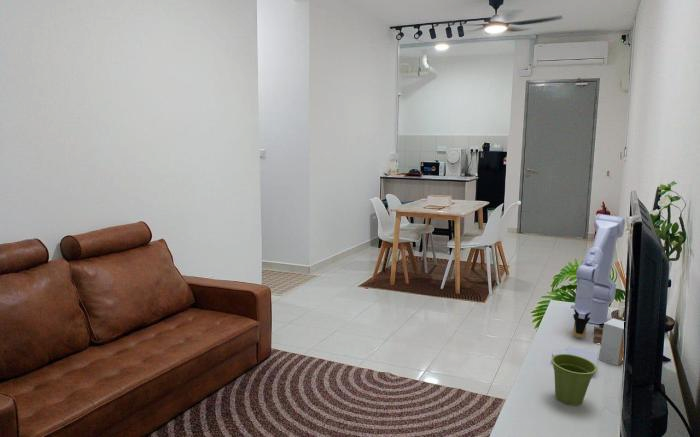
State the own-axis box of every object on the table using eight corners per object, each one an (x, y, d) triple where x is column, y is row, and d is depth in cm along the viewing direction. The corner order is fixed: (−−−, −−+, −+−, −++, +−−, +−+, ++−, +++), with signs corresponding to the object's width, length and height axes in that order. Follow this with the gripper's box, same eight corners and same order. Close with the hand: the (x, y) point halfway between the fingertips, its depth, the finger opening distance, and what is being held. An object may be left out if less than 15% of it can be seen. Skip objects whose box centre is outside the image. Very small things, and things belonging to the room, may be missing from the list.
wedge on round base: (594, 365, 171) (552, 356, 176) (597, 346, 169) (554, 337, 175) (594, 377, 163) (550, 366, 168) (596, 357, 161) (552, 347, 167)
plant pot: (540, 399, 147) (545, 362, 145) (555, 385, 156) (560, 350, 154) (583, 416, 140) (589, 377, 138) (597, 400, 149) (602, 363, 147)
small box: (617, 366, 171) (623, 329, 169) (598, 359, 176) (603, 323, 173) (626, 359, 177) (632, 323, 174) (607, 352, 181) (612, 317, 179)
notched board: (593, 332, 199) (594, 326, 199) (615, 336, 196) (616, 330, 196) (593, 342, 189) (594, 336, 189) (616, 347, 186) (617, 340, 186)
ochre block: (573, 332, 198) (575, 314, 197) (584, 334, 197) (587, 317, 195) (572, 335, 195) (575, 318, 194) (584, 338, 193) (587, 320, 192)
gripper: (573, 289, 201) (568, 322, 204) (571, 299, 188) (567, 335, 191) (593, 292, 198) (588, 326, 201) (593, 303, 185) (587, 339, 188)
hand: (579, 330), depth 195 cm, fingers open, 5 cm apart
